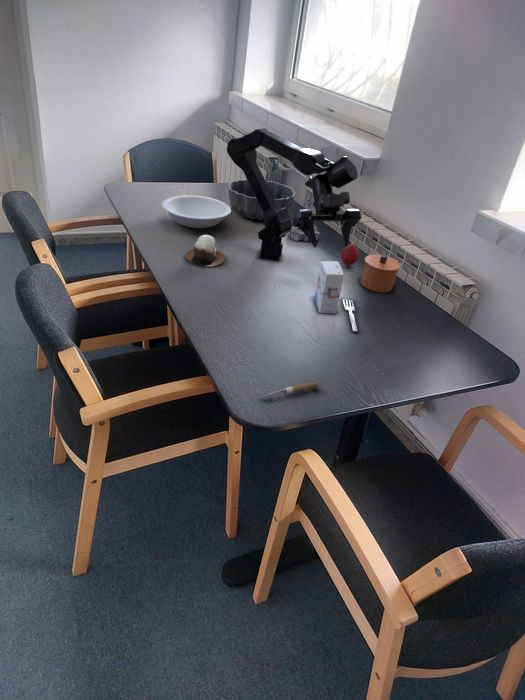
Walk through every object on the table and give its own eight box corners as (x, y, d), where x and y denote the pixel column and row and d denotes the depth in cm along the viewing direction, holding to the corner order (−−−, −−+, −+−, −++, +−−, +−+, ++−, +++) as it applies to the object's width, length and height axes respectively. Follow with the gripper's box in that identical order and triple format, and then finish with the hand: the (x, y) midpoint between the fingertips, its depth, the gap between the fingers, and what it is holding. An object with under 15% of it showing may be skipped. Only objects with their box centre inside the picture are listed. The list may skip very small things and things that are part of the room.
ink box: (313, 297, 138) (320, 259, 131) (330, 298, 138) (338, 260, 132) (318, 312, 131) (326, 273, 124) (336, 314, 132) (345, 274, 125)
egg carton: (314, 234, 180) (316, 223, 177) (320, 242, 174) (322, 231, 171) (286, 233, 177) (288, 222, 175) (291, 241, 171) (293, 230, 169)
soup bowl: (241, 232, 172) (243, 214, 168) (180, 240, 160) (181, 221, 156) (209, 210, 188) (210, 193, 184) (151, 215, 175) (150, 197, 171)
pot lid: (367, 270, 142) (369, 261, 140) (361, 255, 151) (364, 246, 149) (403, 275, 142) (405, 265, 140) (395, 260, 151) (398, 251, 149)
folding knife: (260, 403, 97) (261, 396, 96) (257, 398, 98) (258, 391, 97) (318, 391, 103) (319, 383, 102) (314, 386, 104) (316, 379, 103)
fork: (360, 333, 125) (360, 331, 124) (349, 331, 125) (350, 330, 124) (352, 301, 139) (352, 299, 138) (342, 300, 139) (342, 298, 138)
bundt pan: (216, 202, 196) (218, 177, 190) (275, 202, 206) (278, 178, 200) (239, 227, 176) (242, 200, 171) (303, 224, 187) (307, 199, 181)
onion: (355, 270, 157) (361, 247, 152) (338, 267, 157) (343, 244, 153) (356, 263, 162) (362, 241, 157) (339, 260, 162) (344, 238, 158)
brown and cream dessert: (189, 243, 156) (211, 224, 151) (211, 268, 159) (233, 250, 154) (177, 256, 146) (201, 236, 141) (201, 282, 149) (224, 263, 144)
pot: (362, 290, 146) (368, 268, 142) (358, 275, 154) (363, 254, 150) (395, 294, 146) (402, 272, 142) (389, 279, 154) (395, 258, 150)
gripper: (300, 179, 127) (308, 234, 124) (365, 180, 132) (374, 233, 129) (289, 200, 138) (296, 251, 135) (349, 200, 142) (357, 250, 139)
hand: (331, 246), depth 134 cm, fingers open, 9 cm apart
